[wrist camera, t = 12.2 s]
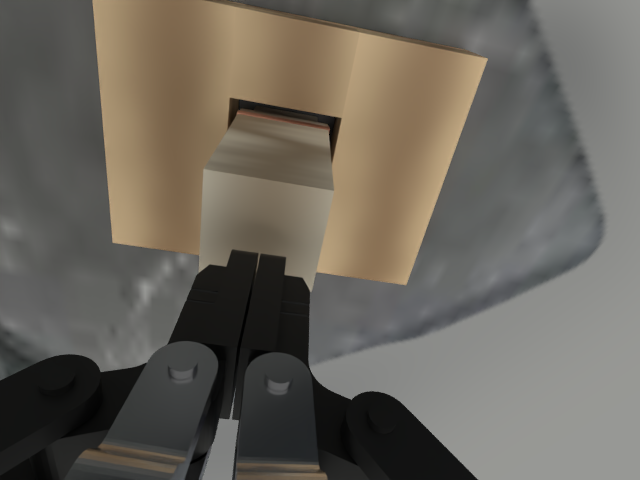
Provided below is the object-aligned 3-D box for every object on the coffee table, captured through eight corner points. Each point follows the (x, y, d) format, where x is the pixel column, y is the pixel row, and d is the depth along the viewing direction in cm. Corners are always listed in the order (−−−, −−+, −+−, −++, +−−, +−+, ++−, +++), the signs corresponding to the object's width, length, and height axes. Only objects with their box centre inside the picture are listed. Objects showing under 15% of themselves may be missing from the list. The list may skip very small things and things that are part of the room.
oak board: (134, 215, 25) (112, 242, 22) (121, -22, 18) (90, -23, 16) (397, 255, 26) (406, 285, 24) (465, 49, 20) (487, 58, 17)
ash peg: (240, 170, 23) (197, 277, 15) (247, 94, 21) (201, 167, 12) (313, 182, 24) (313, 293, 15) (327, 109, 21) (336, 189, 13)
